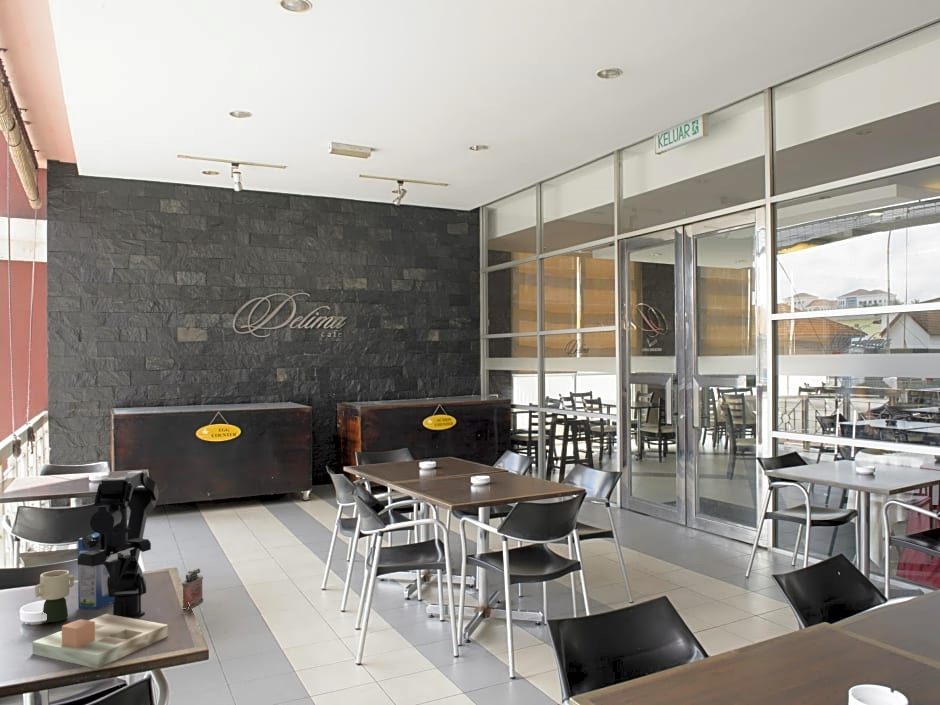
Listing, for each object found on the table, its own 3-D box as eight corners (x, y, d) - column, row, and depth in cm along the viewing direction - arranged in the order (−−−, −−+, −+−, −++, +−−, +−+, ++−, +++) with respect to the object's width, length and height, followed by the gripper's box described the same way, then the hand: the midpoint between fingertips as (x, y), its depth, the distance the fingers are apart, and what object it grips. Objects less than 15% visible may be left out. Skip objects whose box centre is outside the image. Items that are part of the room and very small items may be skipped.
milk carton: (97, 609, 209) (97, 539, 209) (78, 608, 210) (77, 539, 210) (120, 598, 219) (119, 531, 219) (101, 597, 220) (101, 531, 220)
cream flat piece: (106, 624, 197) (106, 613, 197) (167, 636, 188) (167, 624, 188) (32, 654, 177) (32, 641, 177) (97, 668, 169) (97, 655, 169)
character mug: (65, 612, 207) (65, 566, 207) (81, 616, 204) (81, 569, 204) (27, 625, 197) (27, 577, 197) (43, 629, 194) (43, 580, 194)
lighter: (190, 610, 208) (189, 575, 208) (179, 609, 208) (179, 574, 208) (205, 601, 216) (205, 567, 216) (195, 600, 216) (195, 566, 216)
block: (80, 637, 180) (80, 619, 180) (94, 640, 178) (94, 621, 178) (62, 644, 175) (61, 626, 175) (76, 647, 173) (76, 628, 173)
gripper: (122, 516, 205) (122, 571, 205) (62, 530, 188) (62, 591, 188) (152, 519, 201) (152, 576, 201) (93, 533, 184) (93, 596, 184)
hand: (115, 584), depth 193 cm, fingers closed
